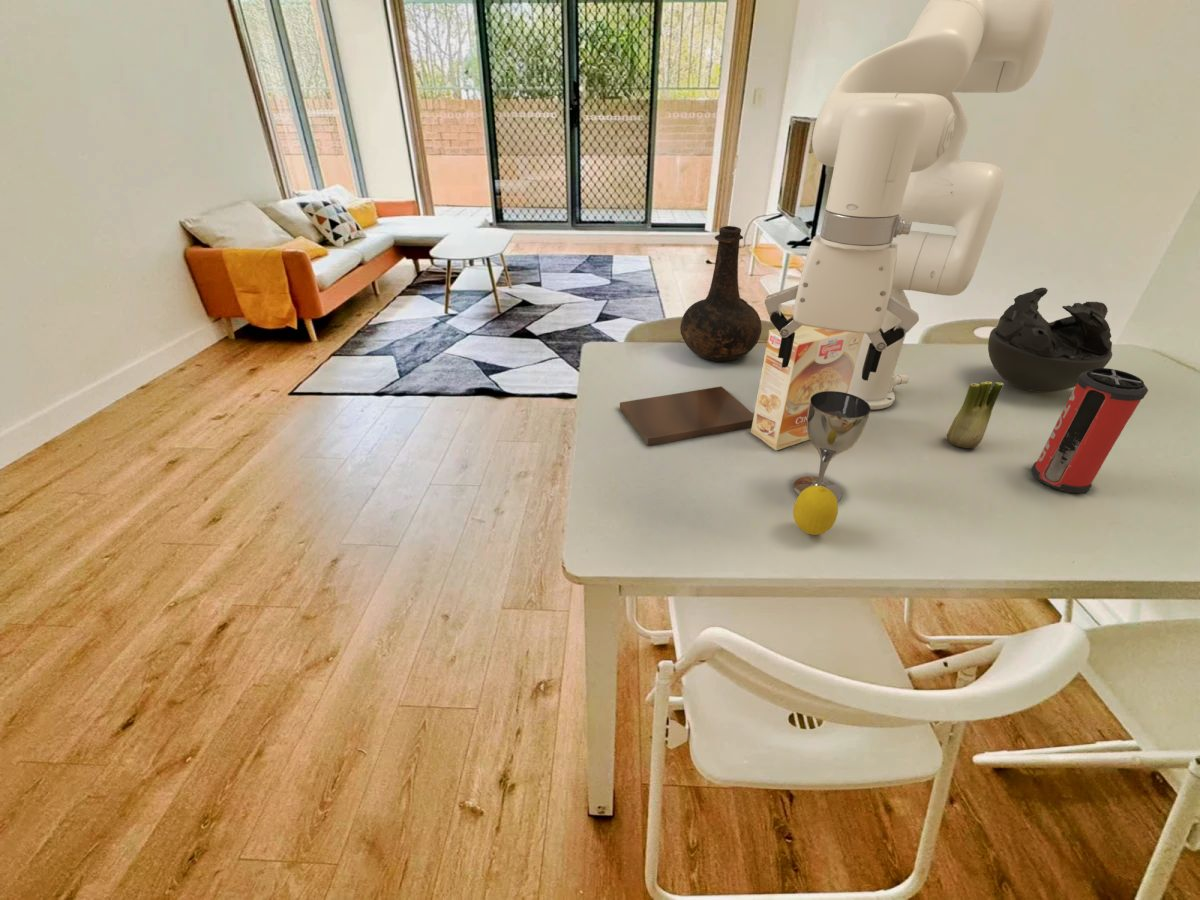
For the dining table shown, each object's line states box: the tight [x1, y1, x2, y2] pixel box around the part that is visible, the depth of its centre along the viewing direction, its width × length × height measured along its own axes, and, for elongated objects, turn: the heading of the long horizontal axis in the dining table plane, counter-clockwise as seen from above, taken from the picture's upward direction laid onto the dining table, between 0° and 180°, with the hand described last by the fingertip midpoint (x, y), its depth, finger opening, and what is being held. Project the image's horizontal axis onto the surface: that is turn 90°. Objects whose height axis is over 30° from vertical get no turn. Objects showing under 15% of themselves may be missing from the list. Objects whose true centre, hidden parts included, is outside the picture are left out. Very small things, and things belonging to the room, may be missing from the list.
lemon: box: [792, 486, 839, 536], centre depth 76 cm, size 6×6×8 cm
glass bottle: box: [679, 225, 763, 362], centre depth 123 cm, size 18×18×28 cm
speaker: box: [1031, 367, 1149, 494], centre depth 84 cm, size 8×8×18 cm
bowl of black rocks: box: [987, 287, 1113, 393], centre depth 111 cm, size 20×20×19 cm
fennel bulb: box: [946, 381, 1004, 449], centre depth 94 cm, size 6×5×12 cm
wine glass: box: [792, 391, 871, 503], centre depth 82 cm, size 8×8×15 cm
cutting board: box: [619, 385, 754, 447], centre depth 105 cm, size 22×14×2 cm, turn 109°
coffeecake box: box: [750, 325, 864, 451], centre depth 96 cm, size 15×7×20 cm, turn 117°
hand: (824, 369), depth 71 cm, fingers open, 9 cm apart
